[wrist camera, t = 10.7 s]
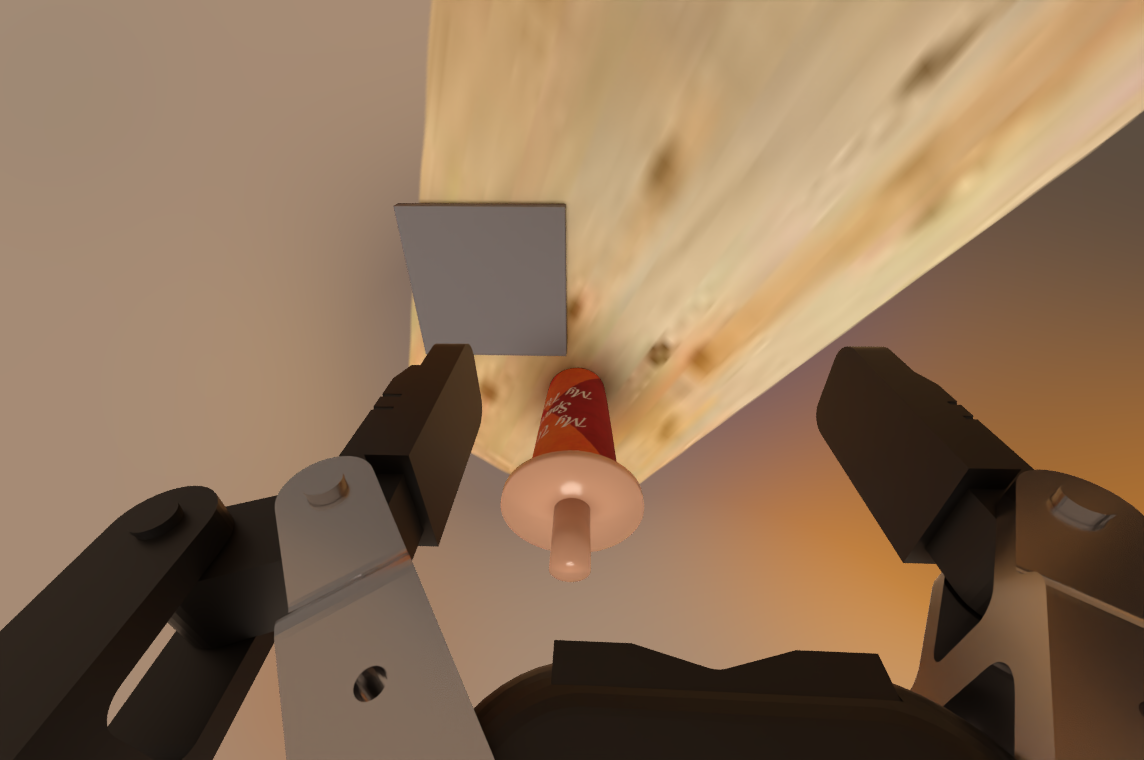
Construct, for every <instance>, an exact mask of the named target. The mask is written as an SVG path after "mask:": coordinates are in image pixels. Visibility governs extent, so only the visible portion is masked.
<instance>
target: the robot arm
mask: <svg viewBox="0 0 1144 760" xmlns="http://www.w3.org/2000/svg"><path fill="white" fill-rule="evenodd" d="M481 417H482V400H481V394H480V389H479V383H478V377H477V371H476V366H475V360H474V354H473V350H472V348H471V346H470V345H469V344H434V345H433V346H432V348H431V349H430V351H429V353H428V354H427V356H426V357H425V359H424V361H423V362H422V364H421V365H411V366H410V367H408V368H407V369H406V370H404V371H403V372H402V373H400V374H399V375H397V376H396V377H394V378H393V379H392V381H391V382H390V384H389V385H388V387H387V388H386V390H385V391H384V392H383V397H380V398H379V399H378V401H377V402H376V404H375V405H374V410H371V411H370V412H369V414H368V415H367V417H366V418H365V420H364V421H363V422H362V424H361V425H360V427H359V428H358V429H357V431H356V432H355V434H354V435H353V437H352V438H351V440H350V441H349V442H348V444H347V445H346V447H345V448H344V450H343V451H342V452H341V454H340V455H339V457H333V458H329V459H325V460H322V461H319V462H317V463H315V464H312V465H310V466H308V467H307V468H305V469H303V470H301V471H300V472H299V473H297V474H296V475H294V476H293V477H292V478H291V479H290V480H289V481H288V482H287V483H286V484H285V485H284V486H283V487H282V489H281V490H280V492H279V494H278V495H277V496H272V497H268V498H263V499H259V500H254V501H250V502H245V503H241V504H237V505H232V506H227V507H225V506H224V504H223V503H222V501H221V500H220V499H219V497H218V496H217V494H216V493H214V491H213V490H211V489H209V488H207V487H203V486H187V487H181V488H176V489H173V490H169V491H166V492H164V493H161V494H158V495H156V496H154V497H152V498H149V499H147V500H145V501H144V502H142V503H140V504H138V505H136V506H135V507H133V508H132V509H130V510H128V511H127V512H126V513H124V514H123V515H122V516H120V517H119V518H118V519H117V520H115V521H114V522H113V523H112V524H111V525H110V526H109V527H108V528H107V529H106V530H105V531H104V532H103V533H102V534H101V535H100V536H98V538H96V539H95V540H94V541H93V542H92V543H91V544H90V545H89V546H88V547H87V548H86V549H85V550H84V551H83V552H82V553H81V554H80V555H79V556H78V557H77V558H76V559H75V560H74V561H73V562H72V563H71V564H69V566H67V567H66V568H65V569H64V570H63V571H62V572H61V573H60V574H59V575H58V576H57V577H56V578H55V579H54V580H53V581H52V582H51V583H50V584H49V585H48V586H47V587H46V588H45V589H44V590H43V591H41V592H40V593H39V594H38V595H37V596H36V597H35V598H34V599H33V600H32V601H31V602H30V603H29V604H28V605H27V606H26V607H25V608H24V609H23V610H22V611H21V612H20V613H19V614H18V615H17V616H16V617H15V618H14V619H13V620H11V621H10V622H9V623H8V624H7V625H6V626H5V627H4V628H3V629H2V630H1V631H0V760H213V758H214V756H215V754H216V752H217V750H218V748H219V747H220V744H221V743H222V741H223V739H224V737H225V735H226V733H227V731H228V729H229V727H230V726H231V724H232V722H233V720H234V718H235V716H236V714H237V712H238V710H239V708H240V706H241V705H242V702H243V701H244V699H245V697H246V695H247V693H248V691H249V689H250V687H251V686H252V684H253V682H254V680H255V678H256V676H257V674H258V672H259V670H260V668H261V667H262V665H263V663H264V661H265V659H266V657H267V655H268V653H269V651H270V649H271V647H272V646H273V644H274V642H275V653H276V663H277V672H278V681H279V692H280V701H281V711H282V721H283V730H284V740H285V750H286V759H287V760H1144V516H1143V515H1142V514H1141V513H1140V512H1139V511H1138V510H1137V509H1135V508H1134V507H1133V506H1132V505H1131V504H1129V503H1128V502H1126V501H1125V500H1123V499H1122V498H1120V497H1119V496H1117V495H1115V494H1113V493H1112V492H1110V491H1108V490H1106V489H1104V488H1102V487H1100V486H1098V485H1096V484H1093V483H1091V482H1089V481H1086V480H1083V479H1081V478H1078V477H1075V476H1072V475H1068V474H1064V473H1060V472H1056V471H1048V470H1034V469H1033V468H1032V467H1031V466H1029V465H1028V464H1027V463H1026V462H1025V461H1024V460H1023V459H1022V458H1020V457H1019V456H1018V455H1017V454H1016V453H1015V452H1014V451H1012V450H1011V449H1010V448H1009V447H1008V446H1007V445H1006V444H1005V443H1003V442H1002V441H1001V440H1000V439H999V438H998V437H997V436H996V435H994V434H993V433H992V432H991V431H990V430H989V429H988V428H986V427H985V426H984V425H983V424H982V423H981V422H980V421H979V420H975V419H973V415H972V414H971V413H970V412H968V411H967V410H966V409H965V408H964V407H963V406H962V405H957V401H956V400H955V399H954V398H952V397H951V396H950V395H949V394H948V393H947V392H946V391H944V390H943V389H942V388H941V387H940V386H939V385H937V384H936V383H934V382H932V381H930V380H929V379H927V378H925V377H923V376H921V375H919V374H917V373H915V372H914V371H913V370H911V369H910V368H909V367H908V366H907V365H906V364H905V363H904V362H903V361H902V360H901V359H900V358H898V357H897V356H896V355H895V354H894V353H893V352H892V351H891V350H889V349H888V348H886V347H844V348H842V349H841V350H840V351H839V352H838V354H837V355H836V358H835V360H834V363H833V365H832V368H831V371H830V373H829V376H828V379H827V381H826V384H825V387H824V389H823V392H822V395H821V398H820V400H819V403H818V406H817V413H816V418H817V425H818V429H819V431H820V433H821V435H822V436H823V438H824V439H825V441H826V442H827V444H828V445H829V447H830V449H831V450H832V452H833V453H834V455H835V456H836V458H837V460H838V461H839V463H840V464H841V466H842V468H843V469H844V471H845V472H846V474H847V475H848V476H849V479H850V480H851V482H852V483H853V485H854V486H855V488H856V490H857V491H858V493H859V494H860V496H861V497H862V499H863V500H864V502H865V503H866V505H867V507H868V508H869V510H870V511H871V513H872V514H873V516H874V518H875V519H876V521H877V522H878V524H879V525H880V527H881V529H882V530H883V532H884V533H885V535H886V537H887V538H888V540H889V541H890V542H891V544H892V546H893V547H894V549H895V551H896V552H897V554H898V555H899V557H900V558H901V560H902V562H903V563H924V564H937V566H938V567H939V569H940V570H941V572H942V573H941V574H940V575H939V576H938V578H937V579H936V580H935V581H934V584H933V587H932V593H931V599H930V605H929V612H928V617H927V623H926V630H925V635H924V641H923V648H922V653H921V659H920V665H919V670H918V674H917V677H916V679H915V682H914V684H913V686H912V688H911V690H908V689H905V688H903V687H900V686H898V685H895V684H893V683H892V682H891V680H890V678H889V676H888V673H887V671H886V670H885V667H884V665H883V664H882V661H881V659H880V657H879V655H878V654H870V653H847V652H824V651H823V652H822V651H800V650H799V651H798V650H795V651H792V652H788V653H784V654H780V655H777V656H773V657H769V658H765V659H762V660H758V661H754V662H750V663H746V664H743V665H739V666H735V667H731V668H728V669H722V670H716V669H710V668H707V667H704V666H701V665H697V664H694V663H691V662H688V661H685V660H682V659H679V658H676V657H672V656H669V655H666V654H663V653H660V652H657V651H654V650H650V649H647V648H644V647H641V646H638V645H635V644H632V643H611V642H610V643H609V642H587V641H564V640H555V641H554V652H553V664H549V665H546V666H542V667H538V668H535V669H533V670H531V671H528V672H526V673H524V674H521V675H519V676H517V677H515V678H514V679H512V680H510V681H508V682H507V683H505V684H503V685H502V686H500V687H499V688H498V689H496V690H495V691H494V692H492V693H491V694H490V695H488V696H487V697H486V698H484V699H483V700H482V701H481V702H480V703H479V704H478V705H477V706H476V707H475V708H474V709H473V706H472V704H471V702H470V699H469V697H468V694H467V692H466V690H465V687H464V685H463V683H462V680H461V678H460V675H459V673H458V670H457V668H456V666H455V664H454V661H453V658H452V656H451V654H450V651H449V649H448V646H447V644H446V642H445V639H444V637H443V634H442V632H441V630H440V627H439V625H438V622H437V620H436V618H435V615H434V613H433V610H432V608H431V606H430V603H429V601H428V599H427V596H426V594H425V591H424V589H423V587H422V584H421V582H420V579H419V577H418V574H417V572H416V570H415V567H414V565H413V562H412V559H413V557H414V554H415V552H416V549H417V547H418V546H439V543H440V540H441V537H442V534H443V531H444V528H445V525H446V522H447V520H448V517H449V514H450V511H451V508H452V505H453V502H454V499H455V496H456V494H457V491H458V488H459V485H460V482H461V479H462V476H463V473H464V471H465V468H466V465H467V462H468V459H469V456H470V453H471V450H472V447H473V445H474V442H475V439H476V436H477V433H478V430H479V427H480V423H481ZM167 622H168V623H169V624H170V625H171V626H172V627H173V628H174V629H176V632H175V633H174V635H173V636H172V638H171V639H170V640H169V642H168V643H167V645H166V646H165V647H164V649H163V650H162V652H161V653H160V654H159V656H158V657H157V659H156V660H155V661H154V663H153V664H152V666H151V667H150V668H149V670H148V671H147V673H146V674H145V675H144V677H143V678H142V679H141V681H140V682H139V684H138V685H137V687H136V688H135V689H134V691H133V692H132V694H131V695H130V696H129V698H128V699H127V701H126V702H125V703H124V705H123V706H122V707H121V709H120V710H119V712H118V713H117V715H116V716H115V717H114V719H113V720H112V722H111V723H110V724H109V726H108V727H107V714H108V710H109V706H110V704H111V701H112V699H113V697H114V695H115V693H116V692H117V690H118V689H119V687H120V686H121V684H122V683H123V681H124V680H125V679H126V677H127V676H128V675H129V673H130V672H131V671H132V669H133V668H134V667H135V665H136V664H137V662H138V661H139V660H140V659H141V657H142V656H143V654H144V653H145V652H146V650H147V649H148V648H149V646H150V645H151V644H152V642H153V641H154V640H155V638H156V637H157V636H158V634H159V633H160V632H161V630H162V629H163V627H164V626H165V625H166V623H167Z"/></svg>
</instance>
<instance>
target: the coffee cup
mask: <svg viewBox="0 0 1144 760" xmlns="http://www.w3.org/2000/svg"><path fill="white" fill-rule="evenodd" d="M569 450H573V451H585V452H591V453H595V454H599V455H602V456H605V457H607V458H610V459H612V460H614V461H616V455H615V449H614V442H613V436H612V429H611V423H610V416H609V410H608V404H607V398H606V393H605V389H604V385H603V383H602V381H601V379H600V378H599V377H598V376H597V375H596V374H595V373H593V372H591V371H589V370H587V369H583V368H570V369H566V370H564V371H562V372H560V373H559V374H557V375H556V376H555V377H554V378H553V380H552V382H551V384H550V387H549V390H548V394H547V397H546V402H545V406H544V410H543V414H542V418H541V423H540V427H539V431H538V436H537V440H536V444H535V449H534V453H533V457H532V458H534V457H536V456H539V455H542V454H546V453H550V452H556V451H569Z"/></svg>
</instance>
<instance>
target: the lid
mask: <svg viewBox="0 0 1144 760" xmlns="http://www.w3.org/2000/svg"><path fill="white" fill-rule="evenodd" d="M501 511H502V515H503V517H504V519H505V521H506V523H507V524H508V526H509V527H510V528H511V529H512V530H513V532H515V533H516V534H517V535H518V536H519V537H521V538H522V539H524V540H525V541H527V542H529V543H531V544H533V545H535V546H538V547H540V548H543V549H546V550H550V551H551V553H550V565H549V572H550V574H551V575H552V576H553V577H554V578H556V579H558V580H561V581H565V582H578V581H581V580H583V579H585V578H587V577H588V576H589V575H590V572H591V552H595V551H600V550H603V549H606V548H609V547H612V546H614V545H616V544H618V543H620V542H622V541H623V540H625V539H626V538H628V537H629V536H630V535H631V534H632V533H633V532H634V531H635V530H636V529H637V527H638V526H639V524H640V522H641V520H642V518H643V513H644V501H643V494H642V490H641V487H640V484H639V483H638V481H637V479H636V478H635V477H634V476H633V474H632V473H631V472H630V471H629V470H627V469H626V468H625V467H624V466H622V465H621V464H619V463H618V462H616V461H614V460H612V459H610V458H607V457H605V456H602V455H599V454H595V453H591V452H585V451H573V450H569V451H556V452H550V453H546V454H542V455H539V456H536V457H534V458H532V459H530V460H528V461H526V462H524V463H523V464H521V465H520V466H518V467H517V468H516V469H515V470H514V471H513V472H512V473H511V474H510V476H509V477H508V479H507V481H506V482H505V485H504V488H503V492H502V498H501Z"/></svg>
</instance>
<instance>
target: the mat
mask: <svg viewBox="0 0 1144 760" xmlns="http://www.w3.org/2000/svg"><path fill="white" fill-rule="evenodd" d="M394 211H395V215H396V219H397V224H398V228H399V233H400V238H401V242H402V247H403V252H404V256H405V260H406V265H407V270H408V274H409V279H410V283H411V288H412V292H413V297H414V301H415V306H416V311H417V315H418V320H419V324H420V329H421V333H422V338H423V342H424V347H425V351H426V354H428V353H429V351H430V349H431V348H432V346H433V345H434V344H469V345H470V346H471V348H472V350H473V354H474V355H528V356H566V354H567V326H566V221H565V204H418V203H415V204H414V203H412V204H411V203H398V204H396V205H394Z"/></svg>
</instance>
